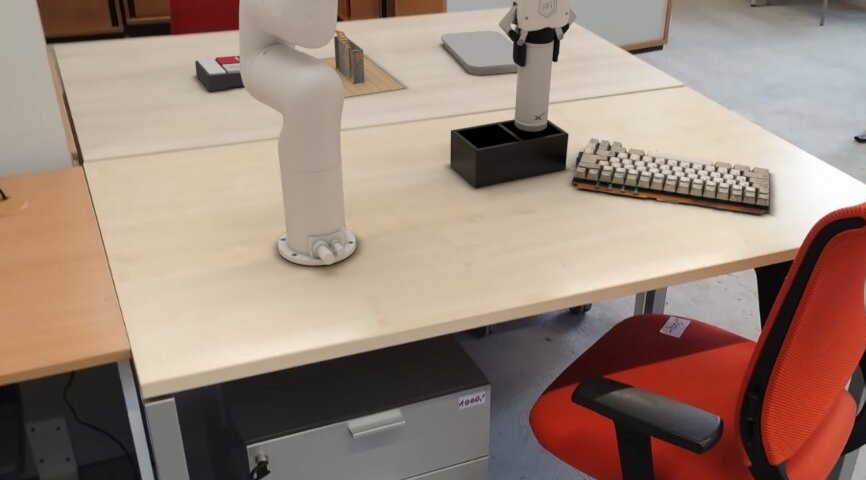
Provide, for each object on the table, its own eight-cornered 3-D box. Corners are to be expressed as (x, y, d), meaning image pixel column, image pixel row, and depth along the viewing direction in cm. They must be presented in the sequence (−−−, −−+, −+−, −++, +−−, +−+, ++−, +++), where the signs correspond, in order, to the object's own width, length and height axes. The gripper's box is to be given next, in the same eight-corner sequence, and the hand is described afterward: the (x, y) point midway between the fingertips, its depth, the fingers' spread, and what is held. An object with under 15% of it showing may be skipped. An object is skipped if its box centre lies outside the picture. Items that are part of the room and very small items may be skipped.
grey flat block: (496, 38, 250) (497, 30, 249) (533, 71, 230) (534, 62, 229) (438, 43, 245) (438, 34, 244) (470, 76, 225) (470, 67, 224)
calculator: (274, 67, 214) (207, 72, 207) (275, 85, 216) (209, 91, 209) (259, 52, 222) (194, 57, 215) (260, 70, 224) (196, 75, 217)
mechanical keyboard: (769, 174, 187) (773, 158, 185) (770, 218, 172) (773, 201, 170) (581, 150, 193) (583, 134, 191) (566, 190, 178) (567, 174, 176)
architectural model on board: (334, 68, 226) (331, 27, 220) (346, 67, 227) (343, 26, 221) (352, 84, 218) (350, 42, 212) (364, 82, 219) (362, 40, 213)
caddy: (565, 169, 184) (568, 133, 180) (475, 188, 176) (476, 150, 172) (538, 149, 192) (540, 114, 187) (450, 166, 183) (450, 130, 179)
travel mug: (545, 134, 178) (554, 27, 167) (511, 129, 179) (517, 23, 168) (550, 122, 183) (559, 17, 172) (517, 118, 184) (524, 14, 173)
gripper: (509, -31, 158) (504, 74, 168) (595, -39, 165) (585, 62, 175) (488, -41, 163) (484, 61, 173) (572, -49, 170) (564, 50, 181)
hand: (535, 61), depth 174 cm, fingers closed on travel mug, 6 cm apart
